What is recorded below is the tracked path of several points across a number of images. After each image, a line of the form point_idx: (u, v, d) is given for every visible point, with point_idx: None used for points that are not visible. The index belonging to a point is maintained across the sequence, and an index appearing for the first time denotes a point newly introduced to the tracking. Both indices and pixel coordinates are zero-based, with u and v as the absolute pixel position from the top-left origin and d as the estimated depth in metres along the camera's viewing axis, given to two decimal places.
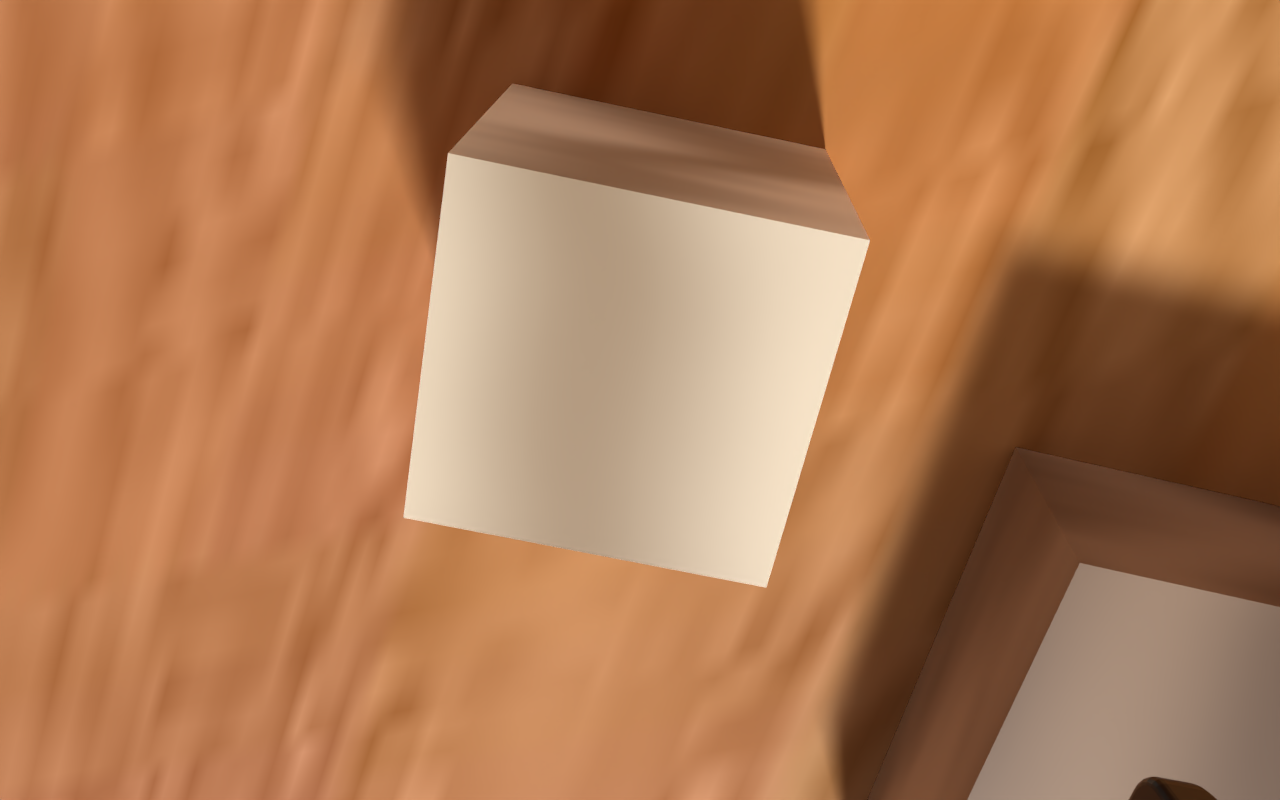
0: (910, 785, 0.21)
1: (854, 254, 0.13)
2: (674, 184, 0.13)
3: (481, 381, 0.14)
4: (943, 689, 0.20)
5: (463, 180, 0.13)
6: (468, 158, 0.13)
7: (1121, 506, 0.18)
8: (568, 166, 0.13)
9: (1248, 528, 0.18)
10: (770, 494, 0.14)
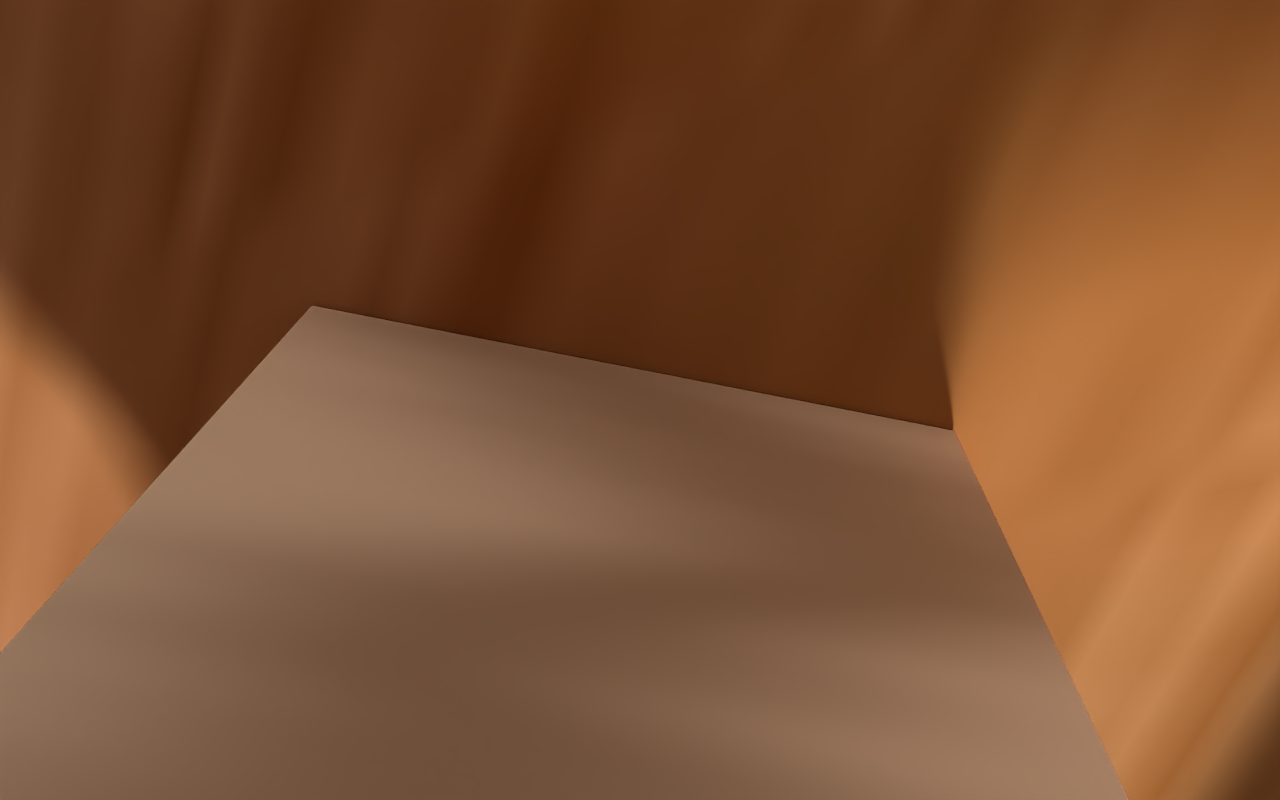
0: None
1: None
2: (624, 792, 0.05)
3: None
4: None
5: None
6: None
7: None
8: (296, 773, 0.04)
9: None
10: None
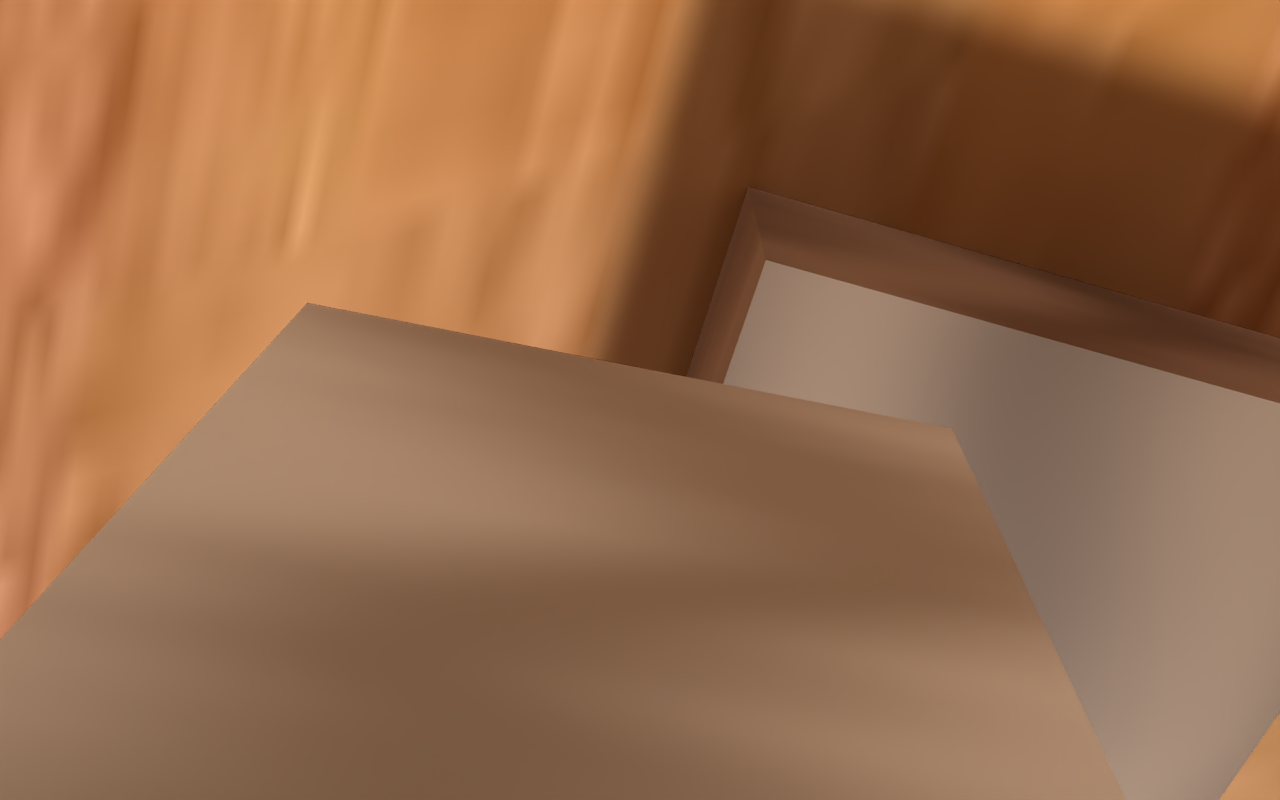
0: None
1: None
2: (617, 790, 0.05)
3: None
4: None
5: None
6: None
7: (846, 238, 0.16)
8: (287, 771, 0.04)
9: (988, 274, 0.17)
10: None
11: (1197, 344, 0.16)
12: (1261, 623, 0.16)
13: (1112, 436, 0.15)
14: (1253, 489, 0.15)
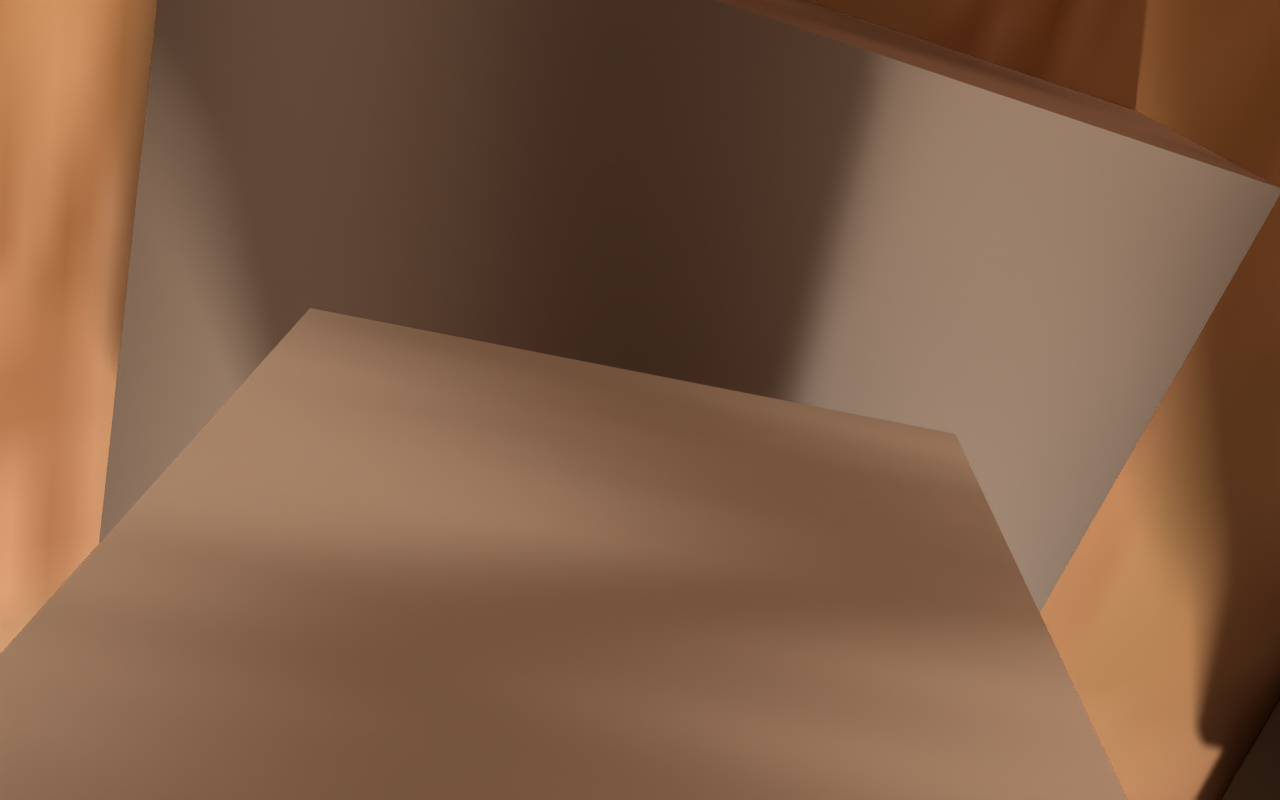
0: None
1: None
2: None
3: None
4: None
5: None
6: None
7: None
8: (292, 781, 0.04)
9: None
10: None
11: (923, 52, 0.11)
12: (1005, 464, 0.11)
13: (753, 146, 0.10)
14: (975, 243, 0.10)
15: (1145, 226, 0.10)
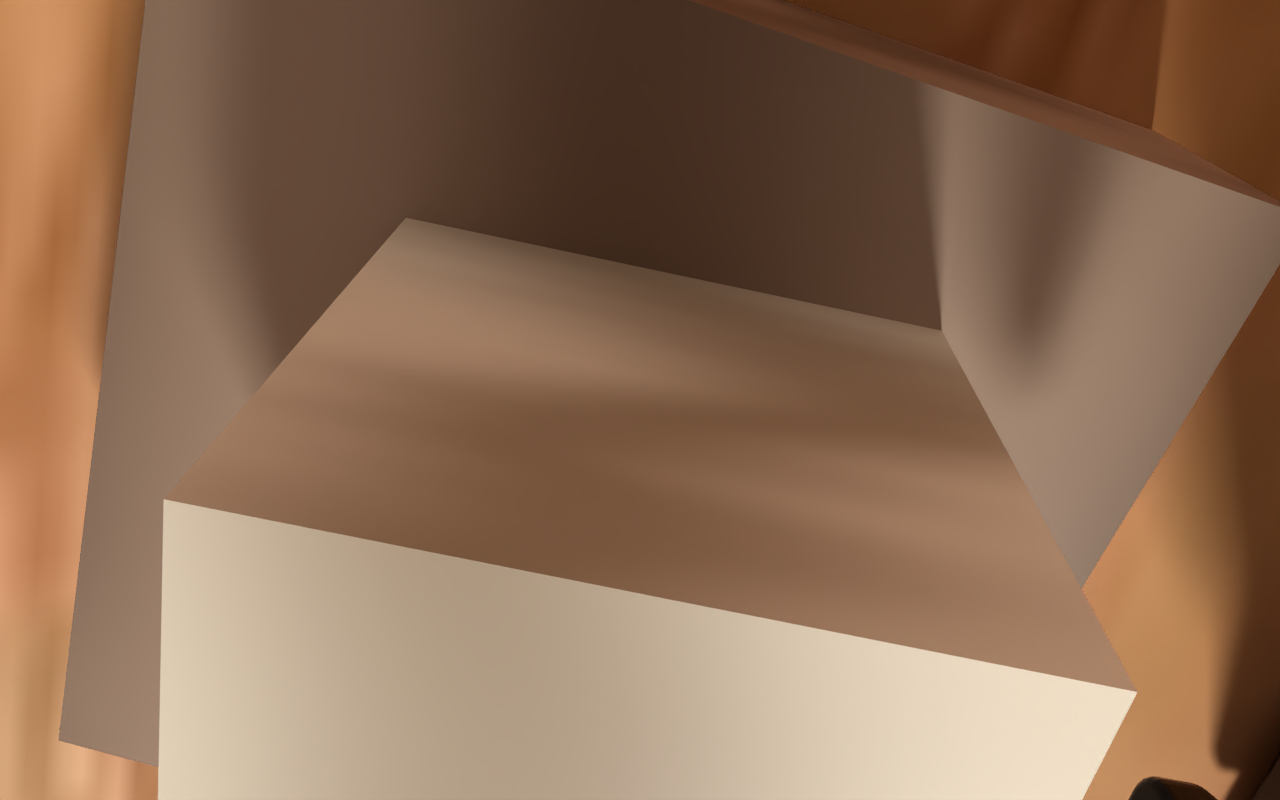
0: None
1: (1098, 718, 0.06)
2: (690, 527, 0.06)
3: None
4: None
5: (205, 554, 0.06)
6: (216, 504, 0.06)
7: None
8: (455, 499, 0.06)
9: None
10: None
11: (937, 67, 0.11)
12: None
13: (761, 165, 0.10)
14: (988, 267, 0.10)
15: (1165, 253, 0.10)
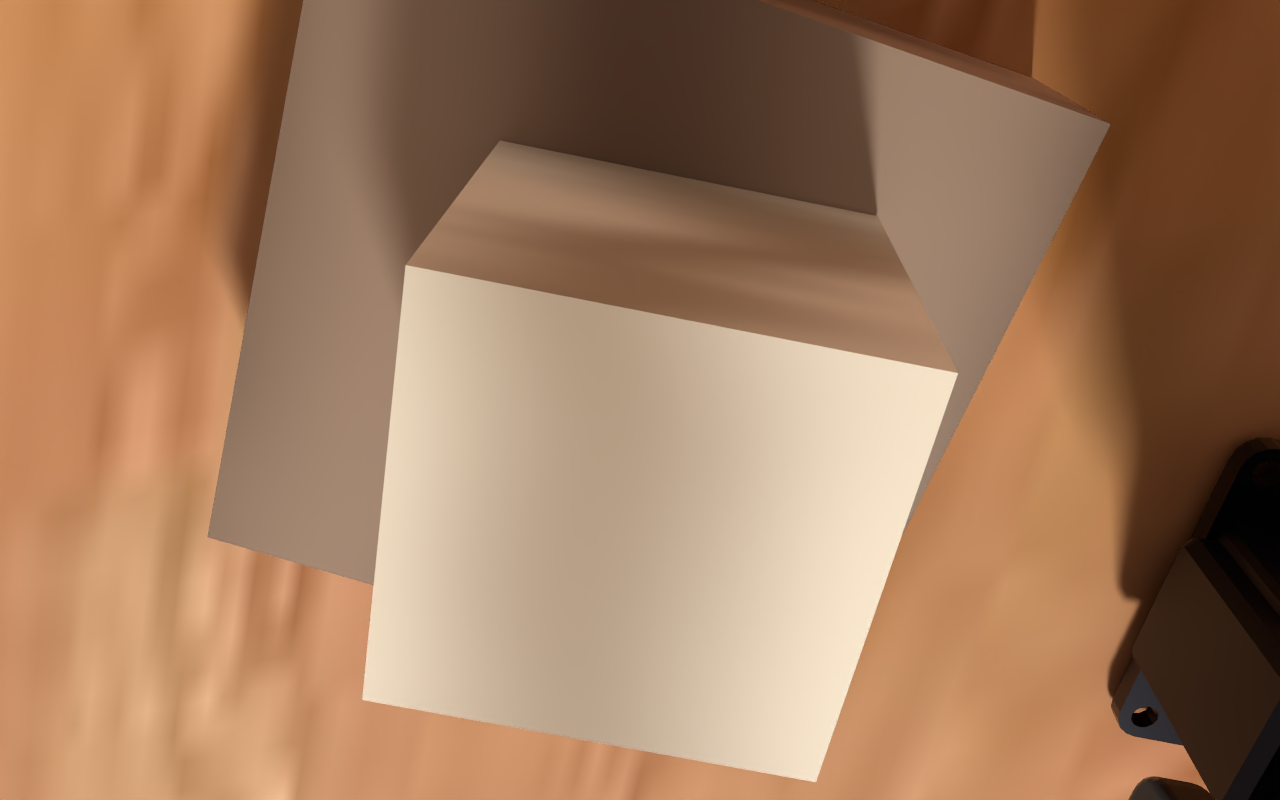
0: None
1: (937, 390, 0.10)
2: (700, 294, 0.10)
3: (455, 542, 0.11)
4: None
5: (426, 299, 0.10)
6: (432, 270, 0.10)
7: None
8: (563, 275, 0.10)
9: None
10: (822, 675, 0.11)
11: (860, 25, 0.15)
12: None
13: (731, 88, 0.14)
14: (891, 161, 0.14)
15: (1013, 150, 0.14)
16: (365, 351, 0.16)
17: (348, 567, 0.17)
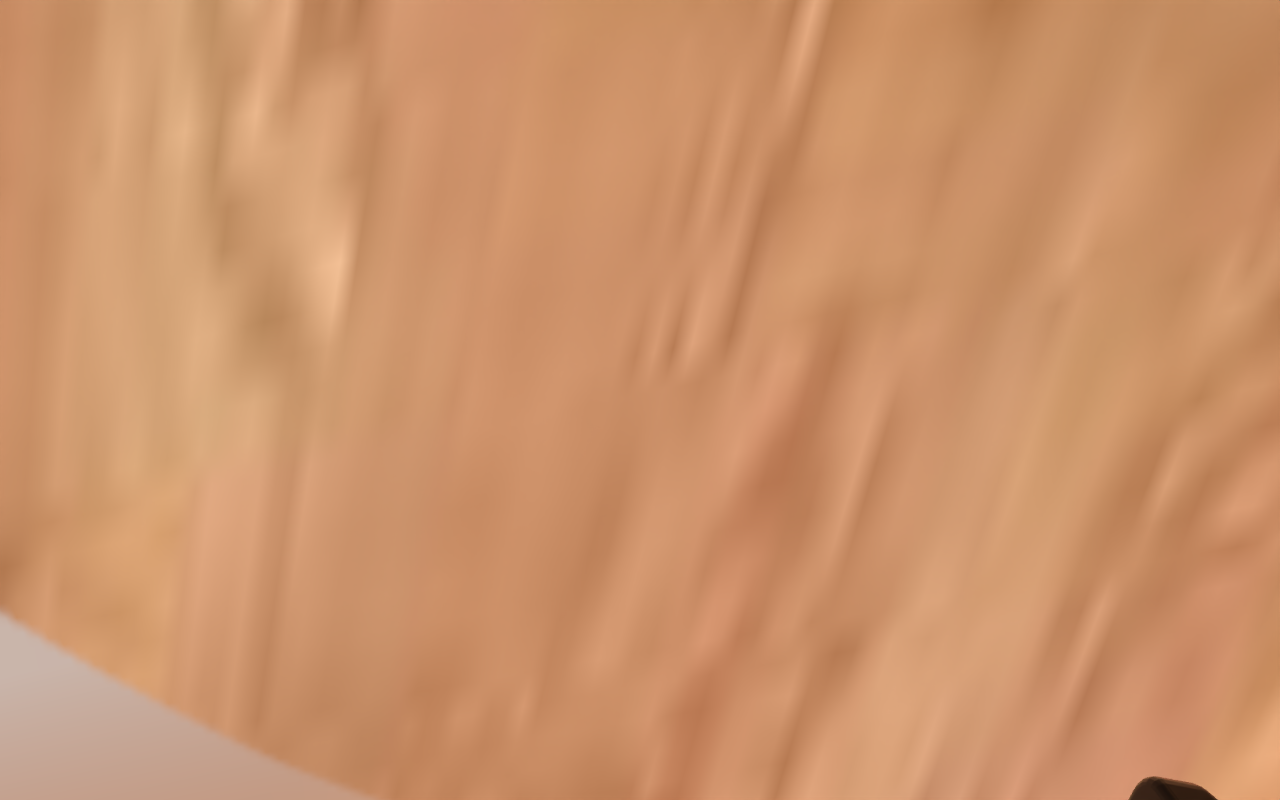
0: None
1: None
2: None
3: None
4: None
5: None
6: None
7: None
8: None
9: None
10: None
11: None
12: None
13: None
14: None
15: None
16: None
17: None
